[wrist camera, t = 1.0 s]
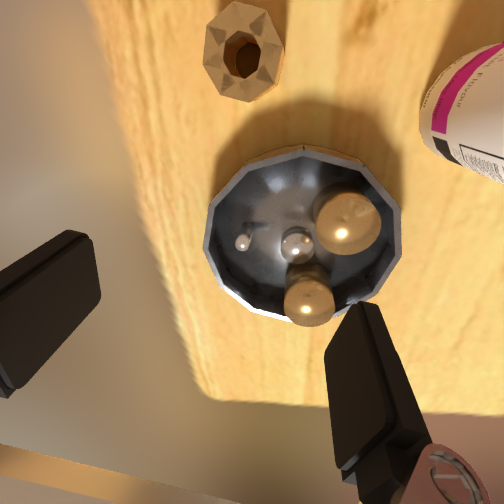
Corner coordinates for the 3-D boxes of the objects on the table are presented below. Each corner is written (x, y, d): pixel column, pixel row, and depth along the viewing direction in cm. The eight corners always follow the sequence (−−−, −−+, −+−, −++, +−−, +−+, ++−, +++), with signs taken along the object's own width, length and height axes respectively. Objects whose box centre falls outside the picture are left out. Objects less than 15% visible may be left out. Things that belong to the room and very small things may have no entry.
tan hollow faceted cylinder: (226, 13, 21) (209, -7, 17) (290, 30, 21) (290, 16, 17) (216, 89, 24) (200, 89, 20) (272, 105, 24) (268, 108, 20)
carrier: (229, 121, 25) (213, 129, 20) (428, 175, 26) (462, 197, 20) (203, 278, 36) (188, 310, 31) (343, 315, 36) (352, 353, 31)
